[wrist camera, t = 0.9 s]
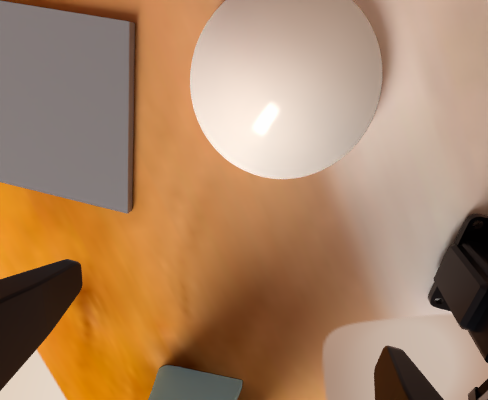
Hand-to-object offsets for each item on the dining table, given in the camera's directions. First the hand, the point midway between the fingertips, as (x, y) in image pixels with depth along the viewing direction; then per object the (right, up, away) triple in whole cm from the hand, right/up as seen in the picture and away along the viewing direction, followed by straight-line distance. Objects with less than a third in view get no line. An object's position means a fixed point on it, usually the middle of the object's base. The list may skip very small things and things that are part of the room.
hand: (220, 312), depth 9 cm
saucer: (+3, +10, +9) cm, 14 cm away
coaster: (-12, +9, +12) cm, 20 cm away
